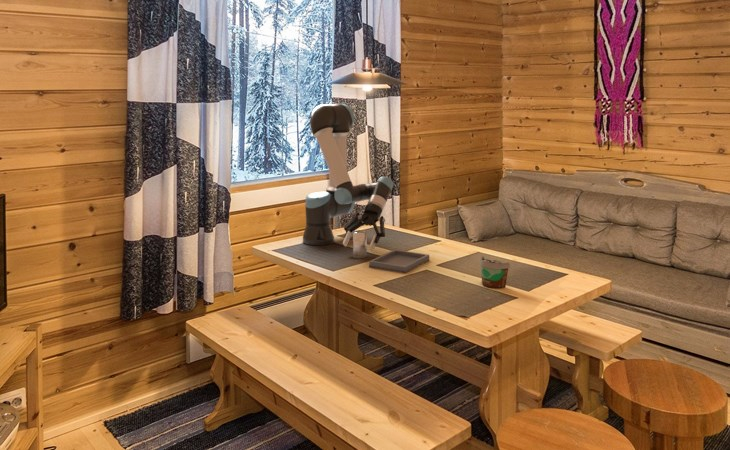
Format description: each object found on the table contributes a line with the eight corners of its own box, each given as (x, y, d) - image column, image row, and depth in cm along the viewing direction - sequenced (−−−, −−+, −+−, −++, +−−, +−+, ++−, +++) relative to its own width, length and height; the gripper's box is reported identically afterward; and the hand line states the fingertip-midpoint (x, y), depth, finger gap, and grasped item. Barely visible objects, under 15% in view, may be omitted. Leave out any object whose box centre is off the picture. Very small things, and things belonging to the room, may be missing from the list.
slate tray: (368, 266, 261) (368, 261, 261) (394, 254, 280) (394, 249, 279) (405, 273, 253) (405, 267, 252) (429, 260, 271) (429, 254, 270)
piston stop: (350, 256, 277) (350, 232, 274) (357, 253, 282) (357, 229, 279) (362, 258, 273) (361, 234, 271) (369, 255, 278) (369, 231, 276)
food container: (471, 284, 239) (472, 259, 236) (481, 281, 243) (482, 255, 241) (499, 292, 230) (500, 265, 228) (508, 288, 234) (510, 262, 232)
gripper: (402, 214, 280) (385, 255, 271) (354, 209, 293) (337, 247, 284) (396, 205, 275) (379, 245, 265) (348, 199, 287) (330, 238, 278)
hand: (357, 246), depth 275 cm, fingers open, 13 cm apart
